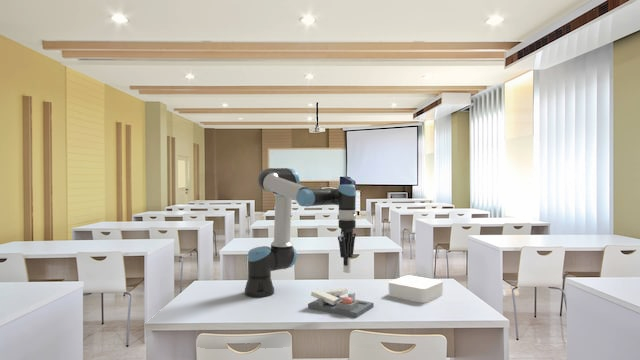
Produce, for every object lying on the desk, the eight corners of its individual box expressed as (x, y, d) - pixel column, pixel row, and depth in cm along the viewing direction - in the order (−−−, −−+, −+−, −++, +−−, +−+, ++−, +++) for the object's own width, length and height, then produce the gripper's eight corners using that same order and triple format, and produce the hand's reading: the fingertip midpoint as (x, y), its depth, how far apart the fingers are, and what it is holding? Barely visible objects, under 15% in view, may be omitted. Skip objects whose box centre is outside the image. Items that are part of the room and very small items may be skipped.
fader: (348, 300, 197) (348, 293, 197) (351, 299, 199) (351, 292, 199) (352, 301, 196) (352, 294, 196) (355, 299, 198) (355, 292, 198)
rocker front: (311, 295, 196) (311, 291, 195) (316, 293, 200) (317, 289, 200) (333, 305, 190) (333, 300, 189) (338, 302, 194) (339, 298, 194)
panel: (307, 308, 194) (307, 297, 194) (327, 298, 209) (327, 288, 209) (356, 317, 181) (356, 306, 181) (373, 307, 196) (373, 296, 195)
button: (340, 307, 188) (340, 298, 188) (345, 304, 192) (345, 296, 192) (349, 308, 185) (349, 300, 185) (354, 305, 189) (354, 297, 189)
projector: (445, 294, 218) (445, 280, 217) (424, 304, 201) (424, 289, 201) (409, 286, 232) (409, 274, 231) (386, 295, 215) (386, 282, 215)
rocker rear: (320, 297, 202) (320, 292, 202) (326, 294, 207) (325, 290, 207) (342, 295, 196) (341, 291, 196) (347, 292, 200) (346, 288, 201)
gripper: (347, 221, 181) (347, 276, 181) (361, 218, 192) (361, 270, 192) (332, 220, 185) (332, 274, 185) (346, 217, 196) (346, 268, 196)
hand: (346, 272), depth 189 cm, fingers closed
